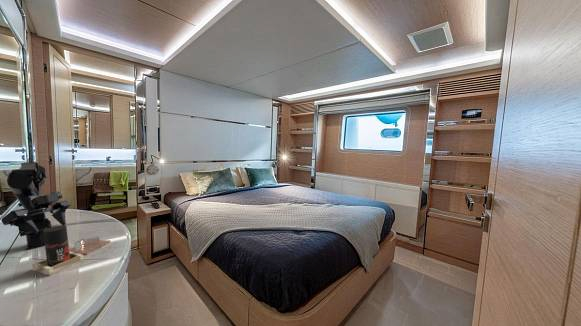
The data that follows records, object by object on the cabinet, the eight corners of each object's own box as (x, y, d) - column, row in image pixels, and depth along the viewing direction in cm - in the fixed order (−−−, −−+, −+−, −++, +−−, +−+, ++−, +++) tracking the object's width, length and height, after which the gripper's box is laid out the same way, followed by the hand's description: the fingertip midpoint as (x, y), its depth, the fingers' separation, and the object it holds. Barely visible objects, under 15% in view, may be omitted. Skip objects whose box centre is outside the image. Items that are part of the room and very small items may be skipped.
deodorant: (55, 271, 78) (50, 232, 77) (43, 268, 79) (38, 231, 78) (74, 262, 84) (70, 226, 82) (63, 260, 85) (59, 224, 83)
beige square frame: (32, 270, 78) (32, 264, 78) (67, 256, 88) (67, 250, 88) (49, 275, 75) (49, 269, 75) (83, 260, 85) (83, 254, 85)
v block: (110, 242, 100) (110, 235, 100) (87, 254, 89) (86, 247, 89) (90, 241, 101) (89, 234, 101) (64, 253, 90) (63, 246, 90)
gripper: (12, 189, 75) (37, 225, 75) (70, 182, 93) (90, 211, 93) (-11, 207, 75) (14, 242, 75) (51, 196, 94) (71, 225, 94)
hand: (51, 228), depth 85 cm, fingers open, 9 cm apart
